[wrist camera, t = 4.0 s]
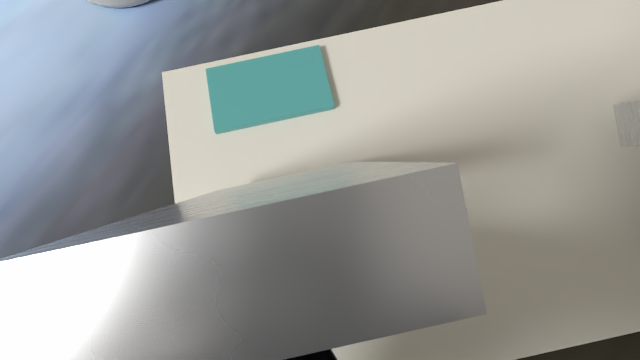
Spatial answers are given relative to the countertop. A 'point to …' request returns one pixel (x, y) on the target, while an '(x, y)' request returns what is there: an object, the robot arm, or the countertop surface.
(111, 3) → the milk bottle
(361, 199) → the left lever
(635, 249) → the switch panel
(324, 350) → the robot arm
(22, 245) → the countertop surface
